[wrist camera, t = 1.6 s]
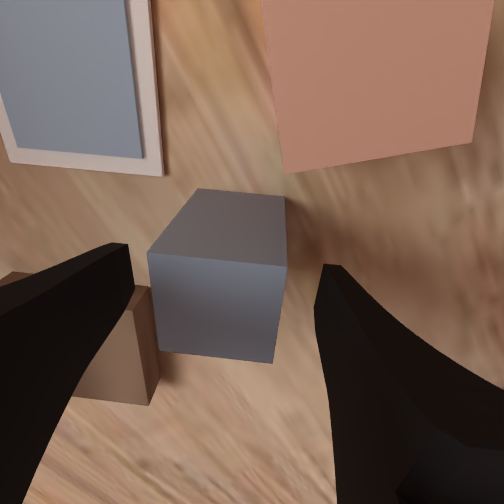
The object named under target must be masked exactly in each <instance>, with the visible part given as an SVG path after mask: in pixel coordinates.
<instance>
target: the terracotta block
mask: <svg viewBox="0 0 504 504" xmlns="http://www.w3.org/2000/svg"><path fill="white" fill-rule="evenodd" d="M494 1H495V0H260V3H261V10H262V17H263V25H264V32H265V39H266V46H267V53H268V60H269V68H270V75H271V82H272V89H273V96H274V103H275V111H276V118H277V125H278V132H279V139H280V146H281V153H282V161H283V168H284V175H285V174H290V173H296V172H302V171H308V170H314V169H320V168H326V167H331V166H337V165H343V164H349V163H355V162H361V161H367V160H372V159H378V158H384V157H390V156H396V155H402V154H407V153H413V152H419V151H425V150H431V149H437V148H443V147H448V146H454V145H460V144H466V143H472V138H473V132H474V126H475V119H476V113H477V107H478V101H479V94H480V88H481V82H482V76H483V69H484V63H485V57H486V51H487V44H488V38H489V32H490V26H491V19H492V13H493V7H494Z"/></svg>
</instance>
